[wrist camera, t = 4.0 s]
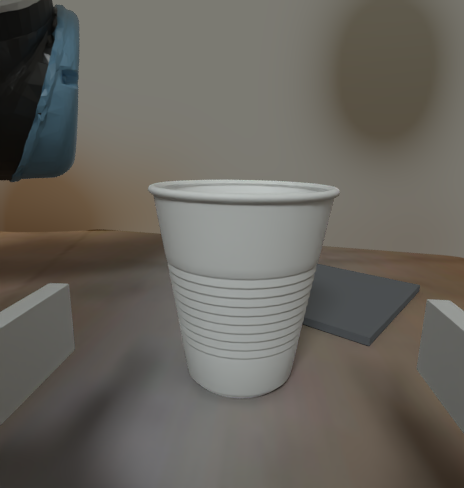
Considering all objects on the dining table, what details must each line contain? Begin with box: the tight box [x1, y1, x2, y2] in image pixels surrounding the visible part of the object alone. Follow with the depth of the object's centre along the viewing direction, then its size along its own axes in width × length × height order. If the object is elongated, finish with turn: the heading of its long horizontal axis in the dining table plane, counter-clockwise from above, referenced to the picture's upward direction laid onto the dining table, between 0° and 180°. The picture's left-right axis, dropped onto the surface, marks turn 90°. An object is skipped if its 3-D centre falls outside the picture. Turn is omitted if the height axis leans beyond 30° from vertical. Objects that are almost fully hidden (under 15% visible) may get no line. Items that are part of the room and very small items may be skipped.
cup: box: [148, 180, 340, 398], centre depth 20 cm, size 10×10×11 cm
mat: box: [302, 264, 420, 346], centre depth 35 cm, size 16×14×1 cm
